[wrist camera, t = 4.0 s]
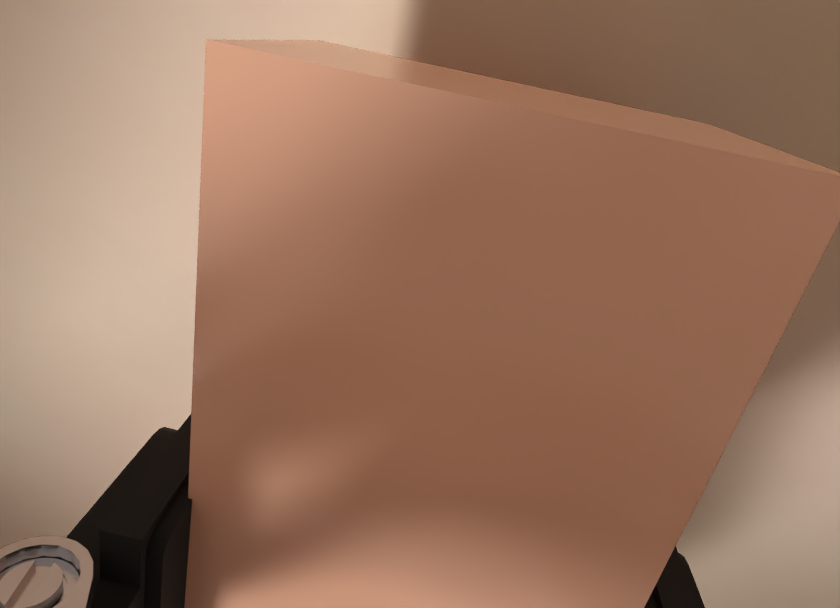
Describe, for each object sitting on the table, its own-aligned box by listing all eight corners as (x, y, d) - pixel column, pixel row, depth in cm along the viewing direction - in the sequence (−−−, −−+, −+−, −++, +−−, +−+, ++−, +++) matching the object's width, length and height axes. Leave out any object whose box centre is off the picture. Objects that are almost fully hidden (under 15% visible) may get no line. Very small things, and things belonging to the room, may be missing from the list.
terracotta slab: (709, 123, 9) (859, 180, 5) (487, 700, 15) (487, 917, 11) (319, 40, 9) (205, 38, 5) (251, 645, 15) (174, 842, 11)
